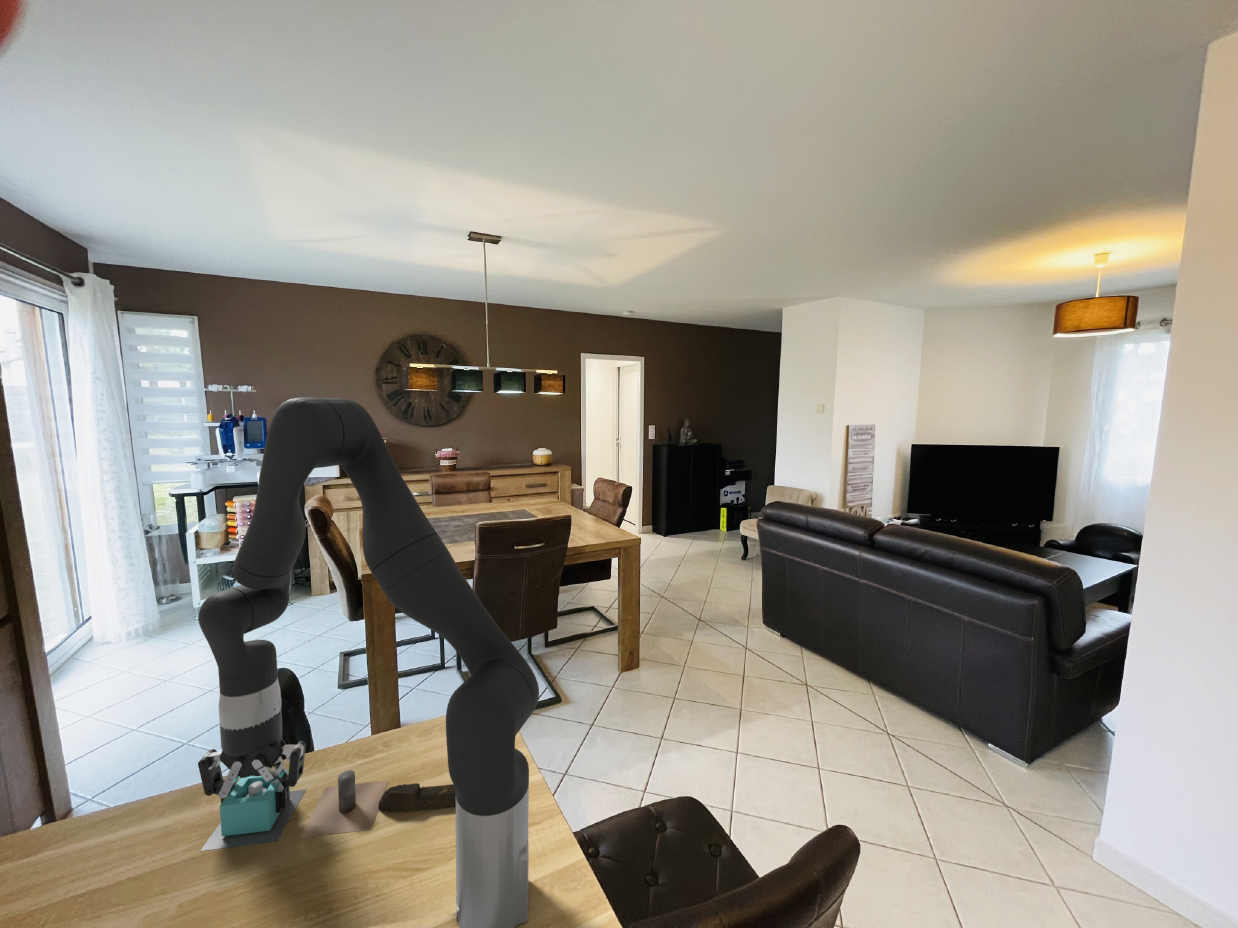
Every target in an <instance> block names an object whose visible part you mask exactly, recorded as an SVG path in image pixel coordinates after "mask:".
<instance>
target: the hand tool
mask: <svg viewBox="0 0 1238 928" xmlns="http://www.w3.org/2000/svg"><path fill="white" fill-rule="evenodd" d="M378 808H379V809H378V812H389V813H396V812H397V813H410V812H421V811H423V812H424V811H431V810H432V811H433V810H442V809H451V808H456V791H455V787H454V784H453V783H451V784H445V785H431V786H422V787H421V785H420V783H419V782H414V783H408V784H406V783H403V784H398V785H396V786H391V787H389V788H388V789H386V790H385V793H384V794H383V796H382V798H381V800H380V801H379V806H378Z"/></svg>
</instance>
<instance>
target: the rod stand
mask: <svg viewBox="0 0 1238 928" xmlns="http://www.w3.org/2000/svg"><path fill="white" fill-rule="evenodd" d="M388 785H389V779H387V780H381V781H380V780H378V781H371V782H361V783H356V772H355V771H354V770H346V771H345V770H344V771H343V772H341V773H340V774H339V775H338V776H337V785H334V786H326V787H325V788H324V790H323V792H322V794H321V796H320V798H319V800H318V802H317V804H316V806H315V807H314V810H313V811H312V813H311V815H310V817H309V819H308V821H307V823H306V825H305V827H304V828H303V831H302V833H301V835H300V836H299V839H306V838H307V839H308V838H315V837H323V836H330V835H338V834H346V833H347V834H348V833H352V832H360V831H361V832H363V831H369V830H372V829H373V826H374V823H375V821H376V817H377V815H378V812H379V808H378V806H379V801H380V800H381V798H382V796H383V794H384V793H385V791H386V790H387V787H388Z"/></svg>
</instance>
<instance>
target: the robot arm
mask: <svg viewBox="0 0 1238 928" xmlns="http://www.w3.org/2000/svg"><path fill="white" fill-rule="evenodd" d="M263 450H264V451H263V456H262V461H261V466H260V472H259V477H258V478H259V479H258V485H257V490H256V497H255V501H254V502H255V504H254V507H253V512H252V515H251V518H250V521H249V525H248V527H247V531H246V533H245V534H244V537H243V540H242V542H241V544H240V546H239V550H238V552H237V554H236V557H235V559H234V561H233V564H232V576H233V579H234V580H235V581H236V582H237V583H238V584H240V585H236V586H233V587H231V588H227V589H224V590H221V591H217V592H215V593H213V594H211V595H209V596H208V597H207V598H206V599H205V600H204V601H203V603H202V604H201V606H200V609H199V613H198V617H197V618H198V625H199V627H200V630H201V632H202V634H203V637H204V638H205V639H206V642H207V643H208V645H209V648H210V650H211V652H212V655H213V657H214V660H215V662H216V665H217V668H218V669H217V670H218V683H219V684H218V686H219V697H218V698H219V699H218V718H219V719H218V720H219V731H220V733H219V734H220V735H219V736H220V748H221V750H219V751H217V749H215V748H211V749H209V750H208V751H207V752H206V753H205V754H204V756H202V758H201V759H200V760H199V761H198V762H197V767H198V769H199V771H198V772H199V775H200V778H201V779H200V780H201V783H202V788H203V792H204V795H205V796H207V797H210V796H213V795H217V796H218V797H219V798H220V805H221V804H222V802H223V801H224V800H225V798H226V797H227V796H228V794H229V793H230V792H231V790H232V789H233V788H234V786H235V785H236V784H237V782H238V781H239V780H240V779H241V778H246V777H249V776H262V777H263V778H264V780H265V781H266V782H267V783H271V785H272V786H273V788H274V789H275V790H276V792H275V801H276V813H280V812H282V810H283V808H285V807H286V805H287V803H288V801H289V799H290V791H291V790H290V788H293V787H294V788H295V786H296V785H297V783H298V781H299V779H300V778H301V777H302V775H303V774H304V767H305V766H304V765H305V755H306V746H307V744H306V741H304V740H300V741H298V742H297V744H286V742H285V741H284V740H285V739H283V718H282V717H283V716H282V702H283V701H282V697H281V694H282V693H281V686H280V683H279V676H278V659H277V649H276V646H275V645H274V643H273V642H272V641H270V640H267V639H254V640H248V641H247V640H246V641H245V640H244V636H245V634H247V633H250V632H253V631H254V630H257V629H259V628H262V627H265V626H267V625H270V624H272V623H273V622H276V621H277V620H278V619H279V618H281V616H282V615H283V614H284V613H285V612H286V611H287V608H288V606H289V604H290V603H289V602H290V590H291V589H290V587H291V572H292V570H293V568H294V566H295V564H296V561H297V559H298V558H299V555H300V553H301V550H302V548H303V546H304V543H305V539H306V534H307V527H306V522H305V517H304V514H303V511H302V508H301V504H300V495H301V491H302V488H303V486H304V484H305V483H306V481H307V479H308V478H309V476H310V475H311V473H312V472H313V470H314V469H319V468H328V467H336V466H339V467H341V469H342V470H343V472H344V473H345V474H346V475H347V477H348V478H349V480H350V481H351V483H352V485H353V487H354V488H355V490H356V492H357V494H358V496H359V500H360V503H361V508H362V526H361V527H362V529H361V530H362V531H361V532H362V535H361V537H362V553H363V557H364V561H365V563H366V566H367V567H368V569H369V572H370V573H372V576H373V577H374V579H375V581H376V582H377V584H378V585H379V587H380V589H381V590H382V592H383V593H384V596H385V597H386V598H387V600H388V601H389V602H390V603H391V604H392V605H393V607H395V608H396V609H397V610H398V611H400V612H401V613H403V614H404V615H405V616H406V617H408V618H410V619H411V620H414V622H417V623H418V624H420V625H422V626H424V627H426V628H427V629H429V630H431V631H433V632H434V633H436V634H438V635H439V636H441V638H443V639H444V640H445V641H447V642H448V644H449V645H451V647H452V648H453V650H455V651H456V654H457V655H458V656H459V658H460V659H461V660H462V663H464V665H465V667H466V669H467V671H468V672H469V674H470V675H469V677H468V678H466V680H465V681H463V683H462V684H460V685H459V686H458V687H457V688H456V689H455V690H454V691H453V693H452V694H451V696H450V698H449V700H448V703H447V706H446V711H445V713H446V715H445V736H446V739H445V740H446V751H447V752H446V753H447V765H448V766H447V767H448V773H449V777H450V780H451V782H452V784H454V787H455V791H456V807H455V887H456V889H455V890H456V892H455V894H456V895H455V896H456V897H455V907H456V909H455V910H456V920H457V921H456V922H457V925H458V927H459V928H516V927H517V926H518V925H521V924H525V923H527V922H528V921H529V860H530V859H529V856H530V855H529V848H530V847H529V799H530V798H529V796H530V795H529V793H530V791H529V790H530V767H529V763H528V760H527V758H526V756H525V754H524V753H522V751H520V750H519V749H517V748H516V736H517V735H518V734H519V732H520V731H521V729H522V728H523V727H524V725H525V723H526V722H527V721H528V719H529V718H530V717H531V715H532V714H533V712H534V711H535V709H536V707H537V705H538V704H539V698H540V687H539V684H538V683H539V682H538V680H537V676H536V675H535V673H534V671H533V669H532V668H531V666H530V665H529V663H528V661H527V660H526V658H525V657H524V656H523V655H522V654H521V652H520V651H519V650H518V648H517V647H516V646H515V645H514V644H513V643H512V641H511V640H510V639H509V638H508V636H507V635H506V633H505V632H504V631H503V630H502V629H501V627H500V626H499V625H498V624H497V622H496V621H495V620H494V618H493V617H492V616H491V614H490V613H489V612H488V611H487V609H486V607H485V606H484V605H483V603H482V601H481V600H480V598H479V596H477V594H476V592H475V591H474V589H473V587H472V586H471V585H470V583H469V582H468V580H467V579H466V577H465V575H464V574H463V572H462V571H461V569H460V568H459V566H458V565H457V563H456V561H455V559H454V557H453V555H452V554H451V552H450V550H449V549H448V548H447V546H446V544H445V542H443V539H442V538H441V537H440V535H439V533H438V532H437V531H436V529H435V528H434V526H433V525H432V524H431V522H430V520H429V519H428V517H427V516H426V514H425V512H424V511H423V509H422V508H421V506H420V505H419V502H418V501H417V499H416V498H415V496H414V495H413V492H412V491H411V489H410V488H409V486H408V484H407V482H405V480H404V478H403V476H402V473H400V470H399V468H398V467H397V465H396V462H395V461H394V459H393V457H392V455H391V453H390V450H389V448H388V446H387V444H386V442H385V441H384V438H383V436H382V434H381V432H380V429H379V427H378V426H377V425H376V422H375V421H374V419H373V417H372V415H370V413H369V412H368V411H367V409H366V407H364V406H362V404H360V403H358V402H357V401H355V400H354V399H353V400H352V399H349V398H343V397H312V396H311V397H309V396H308V397H305V396H303V397H295V398H290V399H288V400H285V401H283V402H282V403H281V404H280V405H279V406H278V408H276V410H275V411H274V413H273V415H272V418H271V421H270V424H269V426H268V430H267V434H266V439H265V445H264V449H263ZM282 755H284V756H286V762H287V763H289V767H288V771H287V768H286V762H285V761H284V760H283V758H282ZM221 763H222V764H223V766H225V767H226V768H227V769H228V770H229V772H228V774H227V775H226V778H225V779H224V778H223V773H222V768H221Z"/></svg>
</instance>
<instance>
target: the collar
mask: <svg viewBox="0 0 1238 928" xmlns="http://www.w3.org/2000/svg"><path fill="white" fill-rule="evenodd" d="M286 769H287V768H286ZM287 771H288V772H289V768H288V769H287ZM257 781H261V782H262V783H263V788H266V789H267V790H266V792H265V793H264V795H260V796H251V797H245V796H246V795H247V794H248V787H249V786H250V785H251V784H252V783H254V782H257ZM275 792H276V790H275V789H274V788H273V786H272V785H271V783H267V782H266V781H265V780H264V778H263V777H262V776H249V777H246V778H239V779H238V781H237V783H236V785H235V786H234V788H233V789H232V790H231V792H230V793H229V794H228V796H227V797H226V798H225V800H224V801H223V802H222V804H221V803H220V805H219V814H220V815H219V817H220V823H221V832H222V836H229V835H238V834H246V833H254V832H262V831H270V829H271V828H272V826H273V824H274V823H275V821H276V819H277V818H278V816H279V814H280V813H281V812H280V813H276V801H275Z"/></svg>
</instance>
